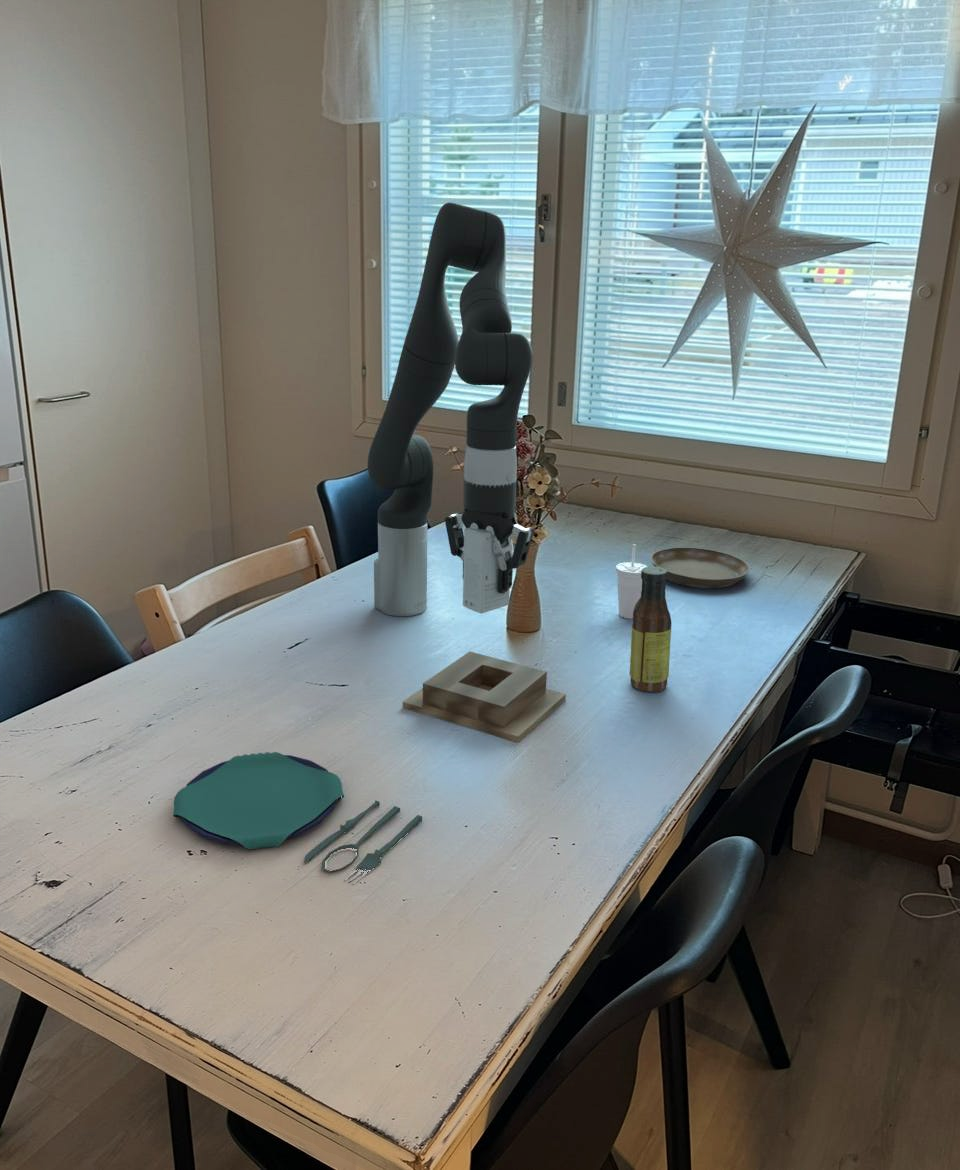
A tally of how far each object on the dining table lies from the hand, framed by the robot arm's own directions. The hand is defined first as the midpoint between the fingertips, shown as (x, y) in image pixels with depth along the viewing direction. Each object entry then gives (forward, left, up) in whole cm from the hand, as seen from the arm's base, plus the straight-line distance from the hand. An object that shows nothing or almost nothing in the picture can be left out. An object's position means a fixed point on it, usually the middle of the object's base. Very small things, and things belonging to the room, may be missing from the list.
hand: (486, 587), depth 146 cm
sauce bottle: (+19, +20, -19) cm, 34 cm away
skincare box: (0, 0, -3) cm, 3 cm away
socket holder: (0, 0, -19) cm, 19 cm away
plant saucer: (+9, +77, -20) cm, 80 cm away
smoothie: (+5, +47, -19) cm, 51 cm away
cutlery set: (-5, -40, -20) cm, 45 cm away
